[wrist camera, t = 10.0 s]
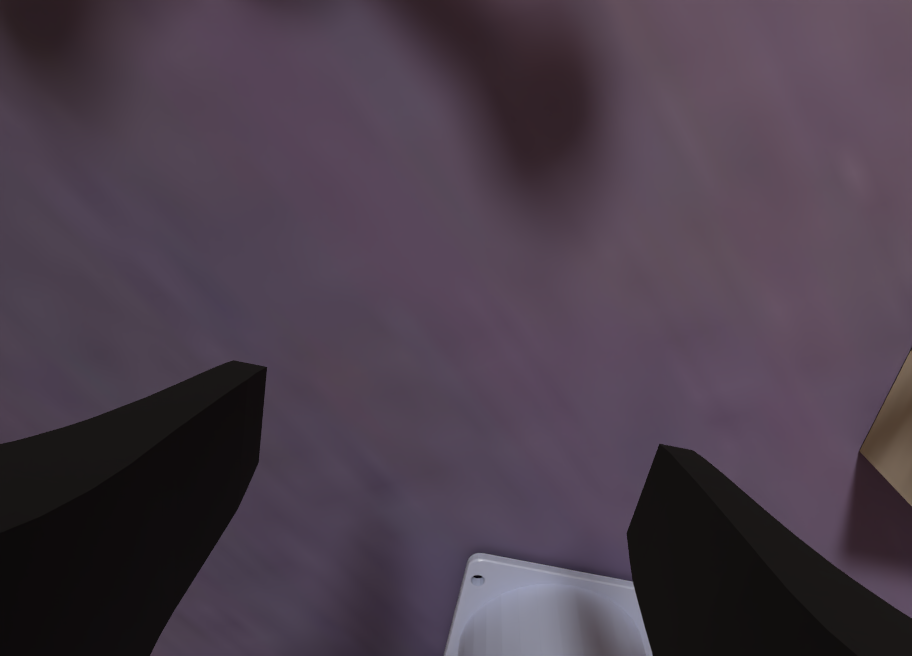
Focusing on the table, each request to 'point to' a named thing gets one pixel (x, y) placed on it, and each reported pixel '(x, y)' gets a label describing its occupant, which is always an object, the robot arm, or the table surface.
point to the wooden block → (894, 435)
